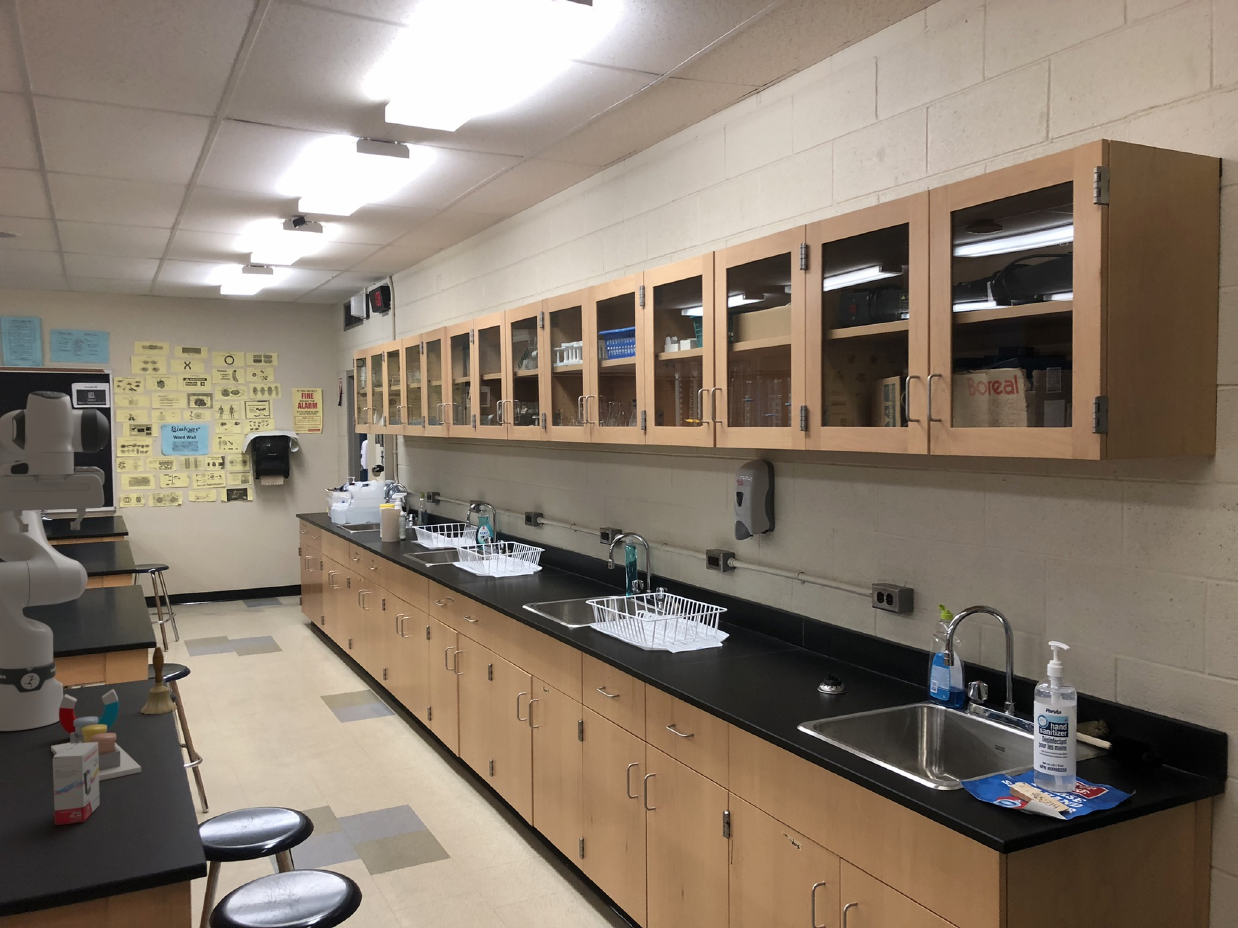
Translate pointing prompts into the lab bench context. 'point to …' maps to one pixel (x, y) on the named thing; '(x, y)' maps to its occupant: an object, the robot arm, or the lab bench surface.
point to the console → (107, 760)
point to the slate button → (84, 724)
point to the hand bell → (158, 689)
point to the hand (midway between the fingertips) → (50, 531)
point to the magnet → (107, 719)
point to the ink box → (76, 782)
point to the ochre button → (92, 731)
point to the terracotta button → (104, 742)
